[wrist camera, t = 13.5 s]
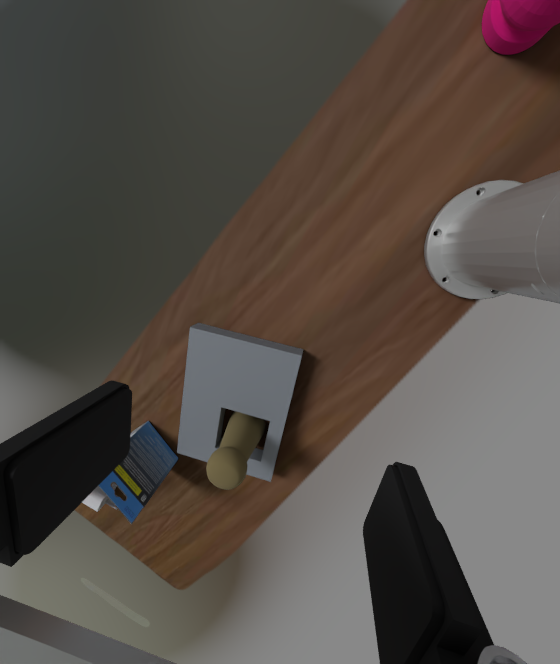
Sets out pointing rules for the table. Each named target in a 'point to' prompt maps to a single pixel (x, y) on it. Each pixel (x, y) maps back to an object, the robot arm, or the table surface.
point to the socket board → (235, 391)
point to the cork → (235, 450)
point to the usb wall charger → (98, 499)
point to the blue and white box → (139, 471)
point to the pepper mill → (518, 23)
